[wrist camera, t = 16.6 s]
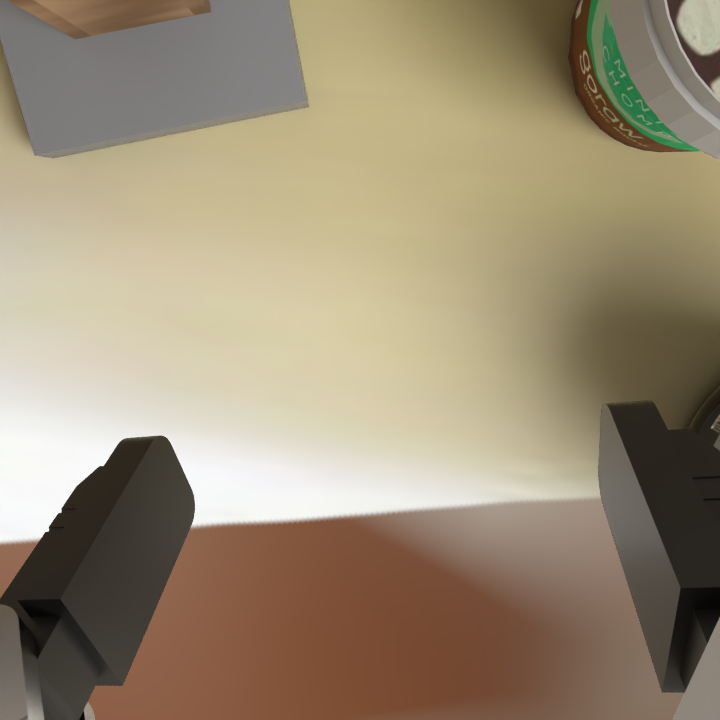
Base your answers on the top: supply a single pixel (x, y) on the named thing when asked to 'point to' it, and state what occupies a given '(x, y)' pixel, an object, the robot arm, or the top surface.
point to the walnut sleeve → (109, 13)
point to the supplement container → (709, 420)
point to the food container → (650, 71)
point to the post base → (151, 75)
